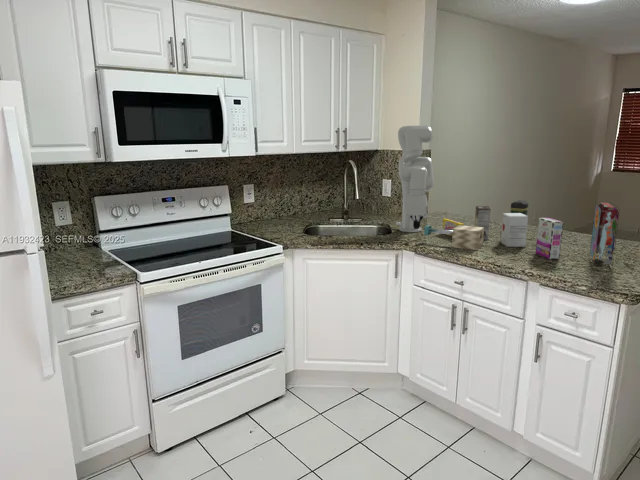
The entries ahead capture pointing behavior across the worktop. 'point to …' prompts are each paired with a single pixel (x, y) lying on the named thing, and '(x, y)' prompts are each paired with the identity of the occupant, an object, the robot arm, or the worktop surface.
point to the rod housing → (467, 237)
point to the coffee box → (483, 219)
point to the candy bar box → (549, 238)
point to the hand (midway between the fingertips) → (416, 228)
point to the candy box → (450, 224)
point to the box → (604, 232)
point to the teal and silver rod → (436, 231)
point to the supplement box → (514, 229)
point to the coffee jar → (519, 207)
